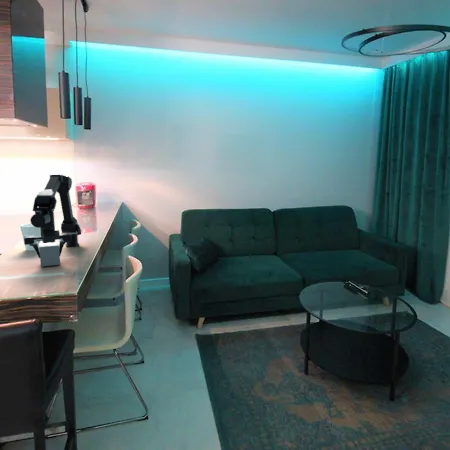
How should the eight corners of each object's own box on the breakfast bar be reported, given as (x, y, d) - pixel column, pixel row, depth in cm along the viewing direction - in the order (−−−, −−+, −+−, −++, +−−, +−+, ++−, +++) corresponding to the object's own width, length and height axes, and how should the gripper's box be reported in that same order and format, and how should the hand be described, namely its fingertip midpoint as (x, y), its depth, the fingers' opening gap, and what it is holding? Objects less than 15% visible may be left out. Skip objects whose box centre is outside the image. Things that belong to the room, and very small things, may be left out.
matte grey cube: (40, 261, 156) (38, 242, 154) (59, 259, 159) (57, 241, 157) (40, 266, 149) (39, 247, 147) (60, 264, 153) (58, 245, 151)
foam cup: (47, 247, 182) (45, 223, 179) (33, 252, 173) (31, 227, 170) (32, 246, 184) (30, 222, 182) (18, 250, 175) (15, 225, 173)
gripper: (22, 228, 139) (25, 264, 142) (72, 224, 148) (74, 259, 151) (22, 223, 149) (26, 257, 152) (69, 220, 157) (71, 252, 160)
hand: (49, 256), depth 153 cm, fingers closed on matte grey cube, 8 cm apart
